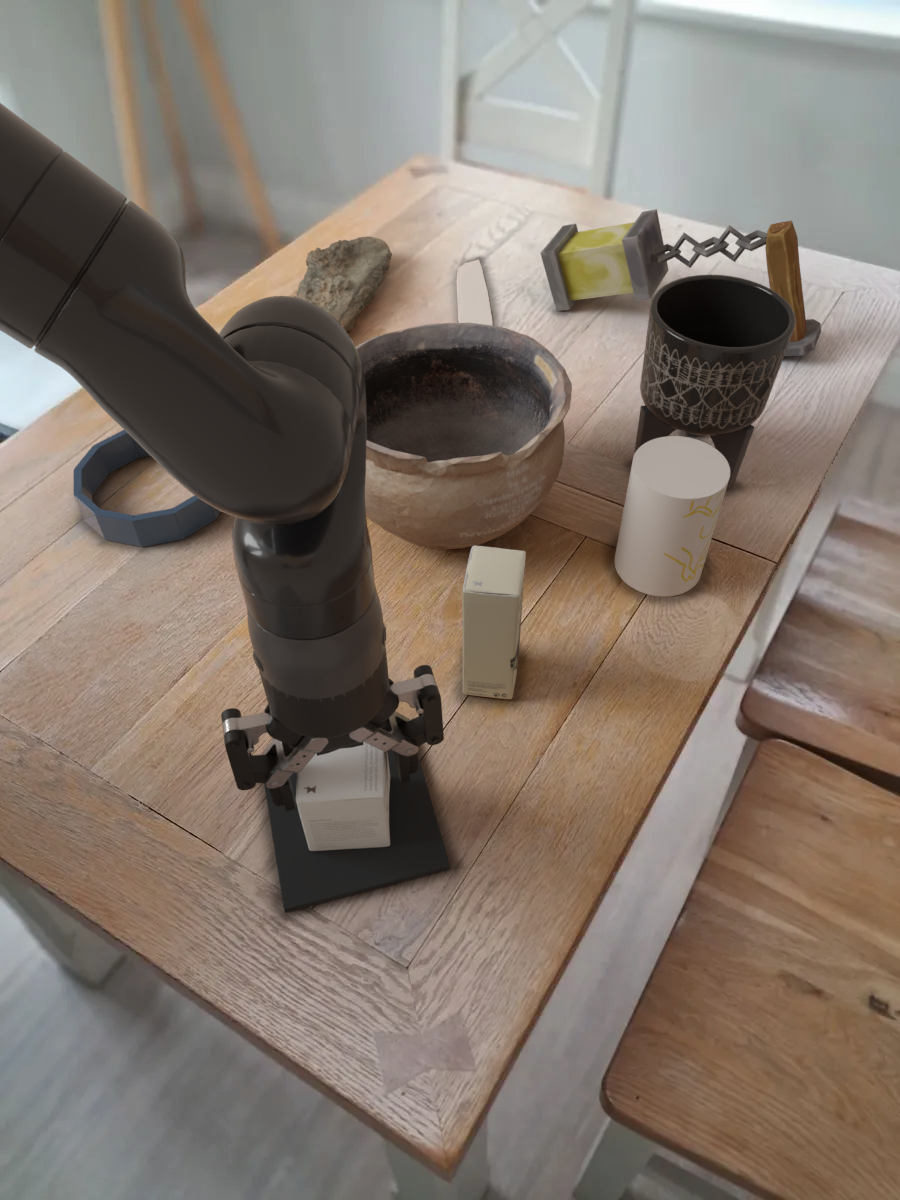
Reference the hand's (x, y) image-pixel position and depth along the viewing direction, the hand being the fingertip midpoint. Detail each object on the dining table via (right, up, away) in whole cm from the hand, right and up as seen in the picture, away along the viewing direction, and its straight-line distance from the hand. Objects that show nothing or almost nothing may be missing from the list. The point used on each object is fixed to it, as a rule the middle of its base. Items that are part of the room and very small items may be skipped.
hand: (346, 785), depth 64 cm
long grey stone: (-9, +48, +49) cm, 69 cm away
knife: (+10, +47, +48) cm, 68 cm away
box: (+11, +7, +13) cm, 18 cm away
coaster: (0, -3, +4) cm, 5 cm away
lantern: (+36, +48, +49) cm, 77 cm away
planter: (+32, +28, +31) cm, 52 cm away
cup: (+27, +17, +21) cm, 38 cm away
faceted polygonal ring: (-22, +24, +28) cm, 43 cm away
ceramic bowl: (+7, +22, +26) cm, 35 cm away
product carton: (0, -3, +3) cm, 4 cm away
